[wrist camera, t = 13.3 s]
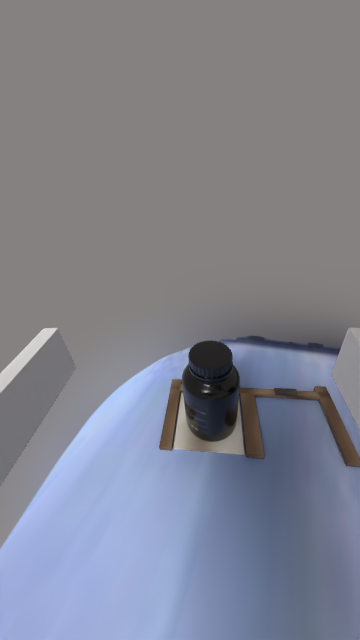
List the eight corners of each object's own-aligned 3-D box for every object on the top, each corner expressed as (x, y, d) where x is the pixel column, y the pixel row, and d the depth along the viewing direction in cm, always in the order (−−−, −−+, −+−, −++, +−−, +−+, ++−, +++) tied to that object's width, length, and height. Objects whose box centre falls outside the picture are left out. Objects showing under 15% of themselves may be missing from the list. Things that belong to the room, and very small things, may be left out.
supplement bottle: (208, 391, 37) (208, 327, 31) (246, 419, 33) (256, 352, 26) (175, 420, 34) (167, 354, 27) (212, 456, 29) (214, 388, 23)
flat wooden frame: (324, 389, 36) (326, 385, 36) (360, 467, 27) (363, 462, 27) (172, 382, 40) (172, 378, 39) (159, 449, 30) (159, 445, 30)
